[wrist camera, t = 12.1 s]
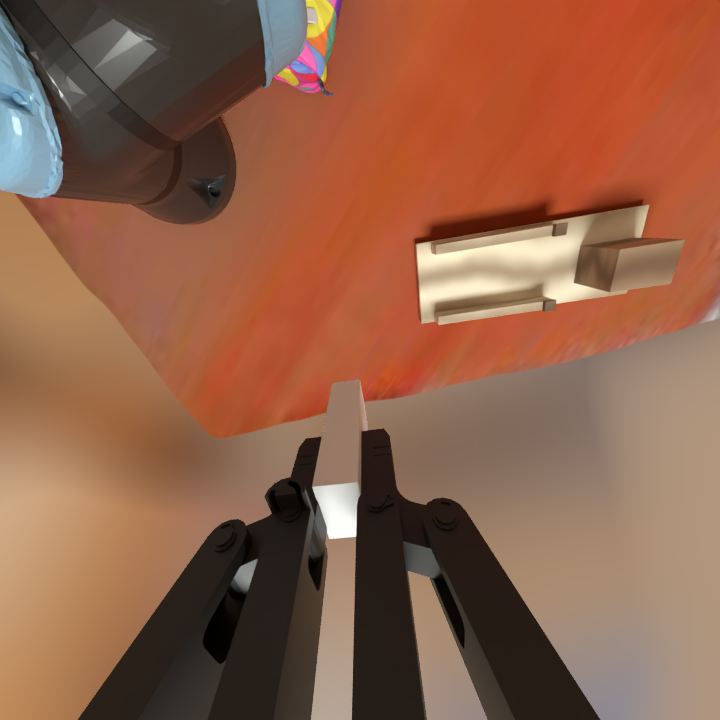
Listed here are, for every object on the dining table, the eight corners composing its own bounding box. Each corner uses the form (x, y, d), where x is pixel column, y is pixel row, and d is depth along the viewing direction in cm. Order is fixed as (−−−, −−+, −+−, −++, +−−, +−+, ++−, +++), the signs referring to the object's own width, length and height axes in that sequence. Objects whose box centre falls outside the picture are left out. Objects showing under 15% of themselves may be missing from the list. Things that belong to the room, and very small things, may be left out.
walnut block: (580, 246, 38) (620, 249, 32) (634, 237, 37) (685, 239, 31) (573, 282, 40) (610, 292, 34) (624, 275, 39) (670, 283, 33)
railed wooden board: (415, 243, 39) (420, 245, 35) (642, 205, 36) (673, 202, 33) (420, 321, 44) (425, 330, 40) (620, 291, 41) (646, 298, 38)
